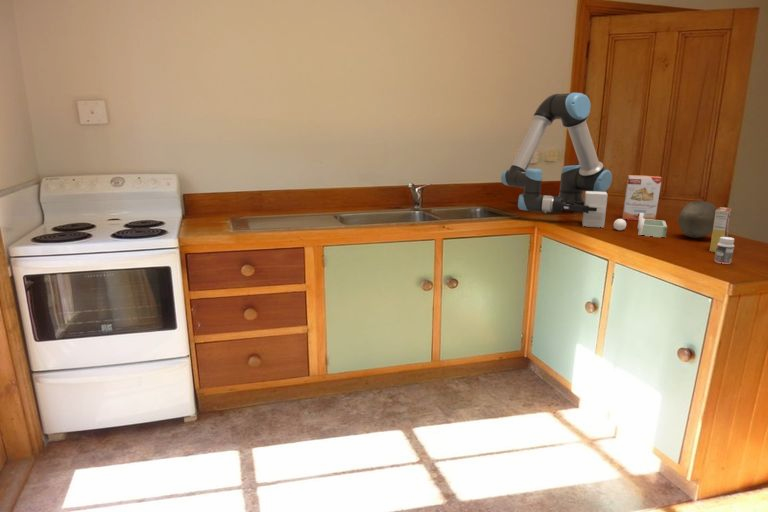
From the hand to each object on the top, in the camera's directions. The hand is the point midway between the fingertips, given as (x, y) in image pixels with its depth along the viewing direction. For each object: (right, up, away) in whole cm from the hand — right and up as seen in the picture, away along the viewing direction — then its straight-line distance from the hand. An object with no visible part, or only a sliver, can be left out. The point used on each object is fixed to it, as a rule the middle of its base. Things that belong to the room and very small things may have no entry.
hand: (605, 208), depth 224 cm
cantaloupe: (+27, -14, -20) cm, 37 cm away
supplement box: (-4, -8, +4) cm, 10 cm away
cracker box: (+24, -4, +18) cm, 30 cm away
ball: (+3, -8, -6) cm, 11 cm away
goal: (+14, -11, -11) cm, 21 cm away
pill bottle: (+15, -23, -55) cm, 61 cm away
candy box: (+24, -19, -38) cm, 49 cm away
